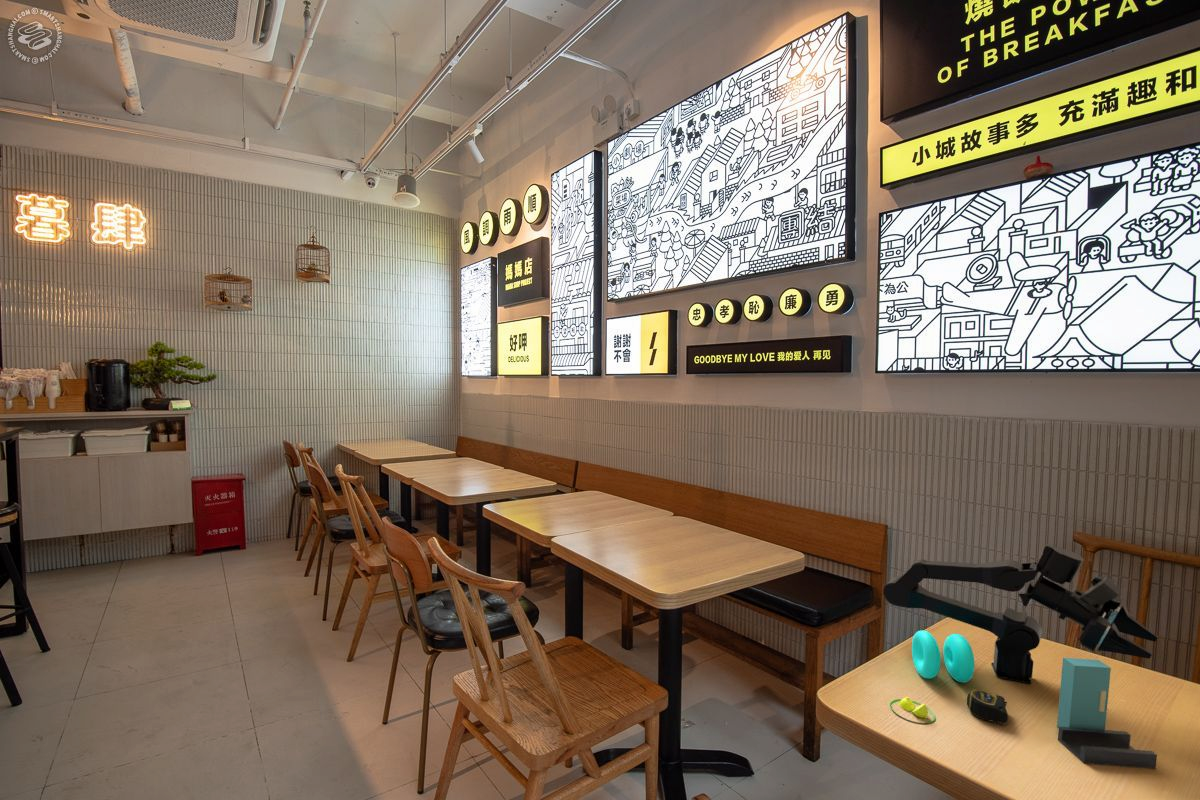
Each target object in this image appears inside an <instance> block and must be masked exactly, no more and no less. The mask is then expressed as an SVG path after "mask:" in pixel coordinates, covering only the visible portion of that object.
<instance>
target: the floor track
mask: <svg viewBox="0 0 1200 800" xmlns="http://www.w3.org/2000/svg"><path fill="white" fill-rule="evenodd" d="M1057 741H1058V742H1060V744H1062V746H1064V747H1065V748H1066V749H1067V750H1069V752H1070V753H1072V754H1073V755H1074V757H1076V758H1077V759H1078V760H1079V761H1081V763H1083V764H1089V765H1100V766H1111V767H1112V766H1115V767H1126V768H1138V769H1154V770H1156V768H1157V760H1158V759H1157V758H1158V754H1157V753H1156V752H1154V751H1153V750H1144V749H1143V750H1142V749H1136V748H1134V747H1133V746H1131V734H1130V733H1129V732H1128V731H1125V730H1115V729H1114V730H1112V729H1105V730H1100V729H1087V728H1073V727H1059V728H1058V730H1057Z"/></svg>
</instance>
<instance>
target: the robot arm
mask: <svg viewBox="0 0 1200 800" xmlns="http://www.w3.org/2000/svg"><path fill="white" fill-rule="evenodd" d="M1084 561H1085V559H1084V558H1083V557H1082V556H1080V555H1079V554H1078V553H1075V552H1074V551H1072V550H1069V549H1067V548H1062V547H1058V546H1053V545H1052V544H1048V543H1047V544H1045V545H1044V548H1043V551H1042V554H1041V555H1040V558H1039V560H1038V561H1034V562H1033V561H1032V562H1020V561H1017V560H1014V559H1007V560H1005V559H1004V560H996V561H995V560H994V561H989V562H985V563H983V562H982V563H971V562H970V563H968V562H957V561H956V562H955V561H952V562H951V561H939V560H938V561H937V560H926V559H918V560H916V561H915V562H914V563H913V564H912V565H910V566H911V567H910V568H909V569H908V570H907V571H906V572H905V573H904V574H903V575H902V576H896V577H893V578H892V579H891V580H890V581H889V582H888V583H886V585H885V586H884V587H883V590H882V591H883V593H882V594H883V597H884V599H885V600H886V601H887V603H889V604H890V605H892V606H895V607H899V608H900V607H901V608H905V609H921V610H925V611H929V612H932V613H935V614H938V615H941V616H944V617H945V618H949V619H952V620H955V621H958V622H961V623H964V624H966V625H971V626H973V627H976V628H978V629H982V630H985V631H988V632H989V633H992V634H993V635H994V636H996V637H997V638H996V639H995V642H994V652H993V654H994V655H993V662H991V663H990V665H991V667H992V669H993V672H994V674H995V676H996V677H997V678H999V679H1003V680H1004V679H1005V680H1010V681H1015V682H1019V683H1025V684H1028V685H1031V684H1032V680H1031V679H1032V678H1033V673H1034V671H1033V669H1034V660H1033V658H1032V653H1031V651H1032V650H1035V649H1036V648H1037V647H1038V646H1039V644H1040V642H1041V638H1042V635H1043V629H1042V626H1041V625H1040V623H1039V622H1038V620H1037V619H1035V618H1033V617H1031V616H1029V613H1028V612H1021V611H1019V610H1018V611H1017V610H1015V609H1013V608H1010V607H1005V610H1004V612H995V611H991V610H988V609H985V608H982V607H978V606H975V605H973V604H969V603H966V602H963V601H959V600H957V599H954V598H950V597H948V596H945V595H941V594H938V593H935V592H932V591H929V590H927V589H926V588H924V587H923V586H921V585H920V582H922V580H926V579H929V580H942V581H954V582H965V583H977V584H983V585H984V586H985V585H986V586H988V587H991V588H993V589H997V590H1001V591H1002V590H1003V591H1005V592H1011V593H1014V592H1019V591H1020V592H1019V593H1018V596H1019V598H1020V599H1021V602H1022V605H1023V606H1024V607H1027V606H1028V605H1030V604H1031V602H1032V601H1034V602H1035V603H1038V604H1040V605H1041V606H1044V607H1046V608H1047V609H1049V610H1050V611H1051V610H1052V611H1053V612H1055V613H1057V614H1059V616H1058V618H1059V619H1061V620H1063V621H1065V620H1066V619H1068V620H1070V621H1071V622H1074V623H1075V624H1077V625H1080V626H1081V627H1082V628H1081V631H1082V632H1081V634H1080V636H1079V637H1078V641H1079V642H1080V644H1081V646H1082V647H1084V648H1086V649H1087V650H1089V651H1091V652H1094V651H1095V649H1096V647H1097V646H1098V648H1097V649H1096V651H1097V652H1107V653H1115V654H1121V655H1128V656H1131V657H1137V658H1143V659H1151V658H1152V655H1153V654H1152V652H1150V651H1148V650H1147V649H1146V648H1144V647H1142V646H1141V645H1139V644H1138V643H1136V642H1135V641H1133V640H1131V639H1130V638H1129V637H1126V635H1128V636H1132V637H1136V638H1138V639H1141V640H1142V639H1143V640H1146V641H1150V642H1157V641H1158V640H1159V637H1158V636H1157V635H1156V634H1155V633H1154V632H1152V631H1151V630H1150V629H1148V628H1147V627H1146V626H1145V625H1143V624H1142V623H1140V622H1139V621H1138V620H1137V619H1135V618H1134V617H1133V616H1132V615H1131V614H1130V613H1129V611H1128V609H1127V604H1126V603H1125V602H1123V604H1122V605H1121V603H1122V601H1123V598H1121V597H1119V595H1120V592H1122V589H1121V588H1120V587H1118V586H1117V585H1116V584H1115V581H1114V580H1113V579H1111V578H1109V577H1107V576H1104V577H1103V576H1100V575H1099V574H1098V575H1096V576H1095V577H1093V578H1092V579H1091V580H1090V584H1091V587H1089V589H1087V590H1086V591H1083V590H1081V589H1079V588H1078V589H1074V590H1071V589H1069V588H1067V587H1065V586H1063V585H1065V584H1066V583H1072V582H1073V580H1074V579H1075V577H1076V575H1077V574H1078V573H1079V572H1078V571H1079V569H1080V568H1081V566H1082V564H1083V562H1084ZM1038 573H1040V575H1039V577H1038V579H1037V580H1036V581H1034V580H1035V579H1036V577H1037V576H1038ZM1027 583H1029V584H1028V585H1027V587H1026V589H1025V591H1021V590H1022V588H1023V589H1024V587H1025V586H1026V584H1027ZM1120 605H1121V607H1120ZM1124 634H1125V635H1124Z"/></svg>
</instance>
